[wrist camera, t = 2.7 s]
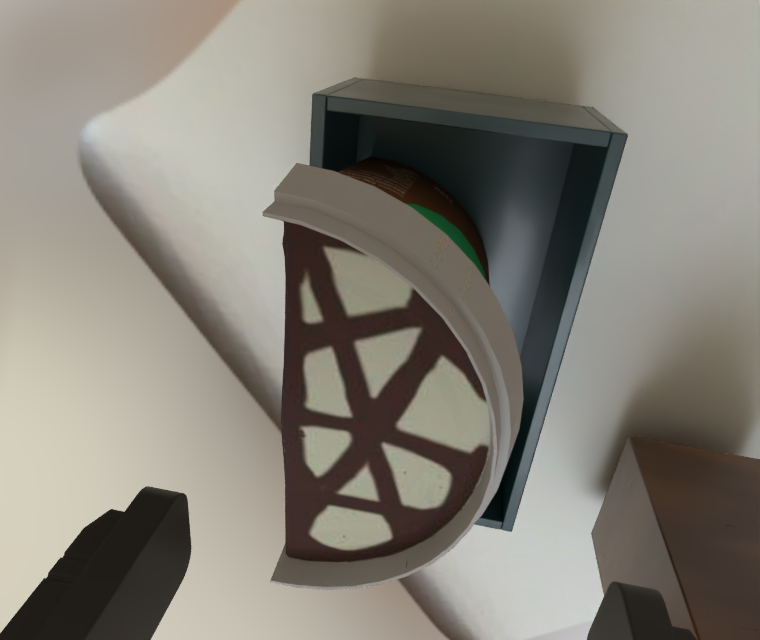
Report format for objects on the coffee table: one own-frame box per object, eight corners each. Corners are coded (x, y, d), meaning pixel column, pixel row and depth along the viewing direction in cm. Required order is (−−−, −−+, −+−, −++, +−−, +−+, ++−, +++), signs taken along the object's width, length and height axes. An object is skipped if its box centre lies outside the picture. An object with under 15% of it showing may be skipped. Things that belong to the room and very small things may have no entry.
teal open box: (593, 107, 19) (628, 134, 14) (507, 439, 26) (511, 532, 21) (353, 76, 20) (312, 93, 15) (329, 406, 27) (295, 489, 22)
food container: (491, 427, 25) (477, 646, 16) (353, 400, 26) (270, 594, 17) (554, 133, 19) (586, 231, 10) (373, 112, 20) (261, 186, 11)
